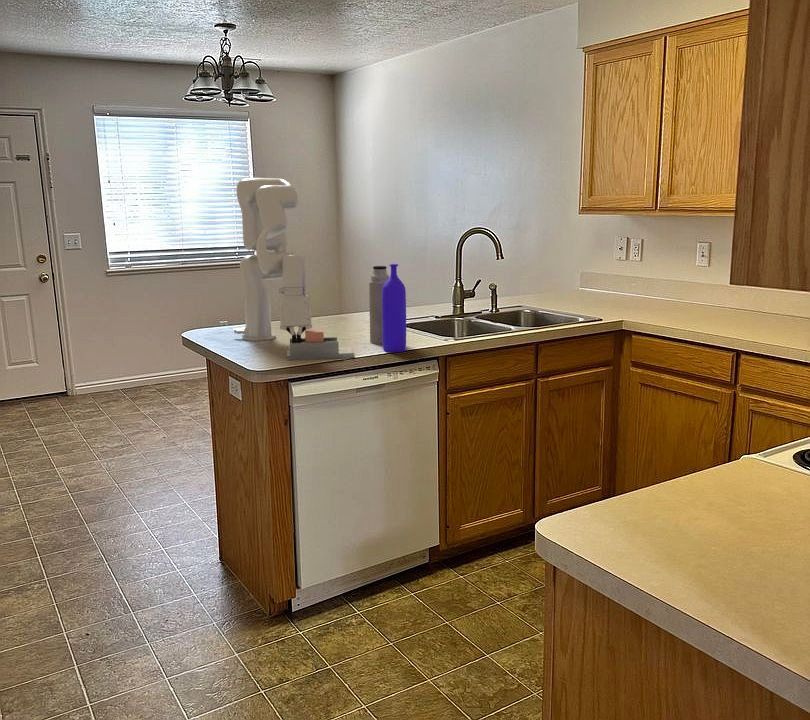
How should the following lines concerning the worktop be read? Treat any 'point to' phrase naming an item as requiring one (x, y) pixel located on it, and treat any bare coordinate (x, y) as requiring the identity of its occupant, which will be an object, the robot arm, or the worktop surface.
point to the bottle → (394, 313)
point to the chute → (318, 350)
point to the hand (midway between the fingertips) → (296, 346)
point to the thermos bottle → (376, 303)
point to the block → (314, 335)
